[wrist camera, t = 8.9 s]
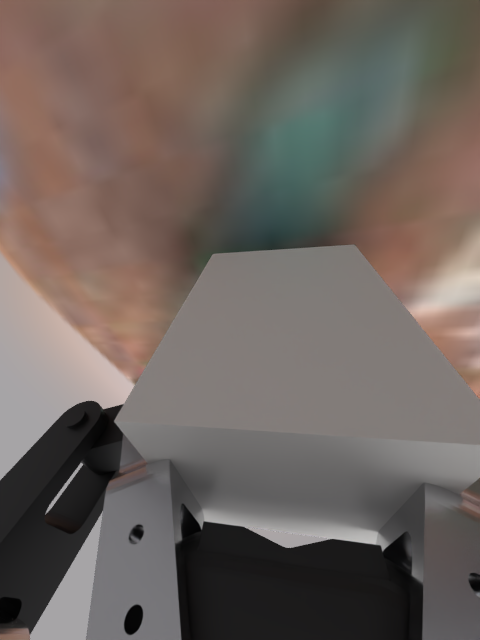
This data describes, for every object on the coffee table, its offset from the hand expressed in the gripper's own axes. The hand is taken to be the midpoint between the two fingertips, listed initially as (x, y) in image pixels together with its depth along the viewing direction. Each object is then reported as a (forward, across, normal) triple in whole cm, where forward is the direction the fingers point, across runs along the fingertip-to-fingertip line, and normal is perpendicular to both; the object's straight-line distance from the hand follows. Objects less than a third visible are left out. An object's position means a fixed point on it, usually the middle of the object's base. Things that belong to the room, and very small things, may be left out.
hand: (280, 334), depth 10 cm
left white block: (+2, 0, 0) cm, 2 cm away
